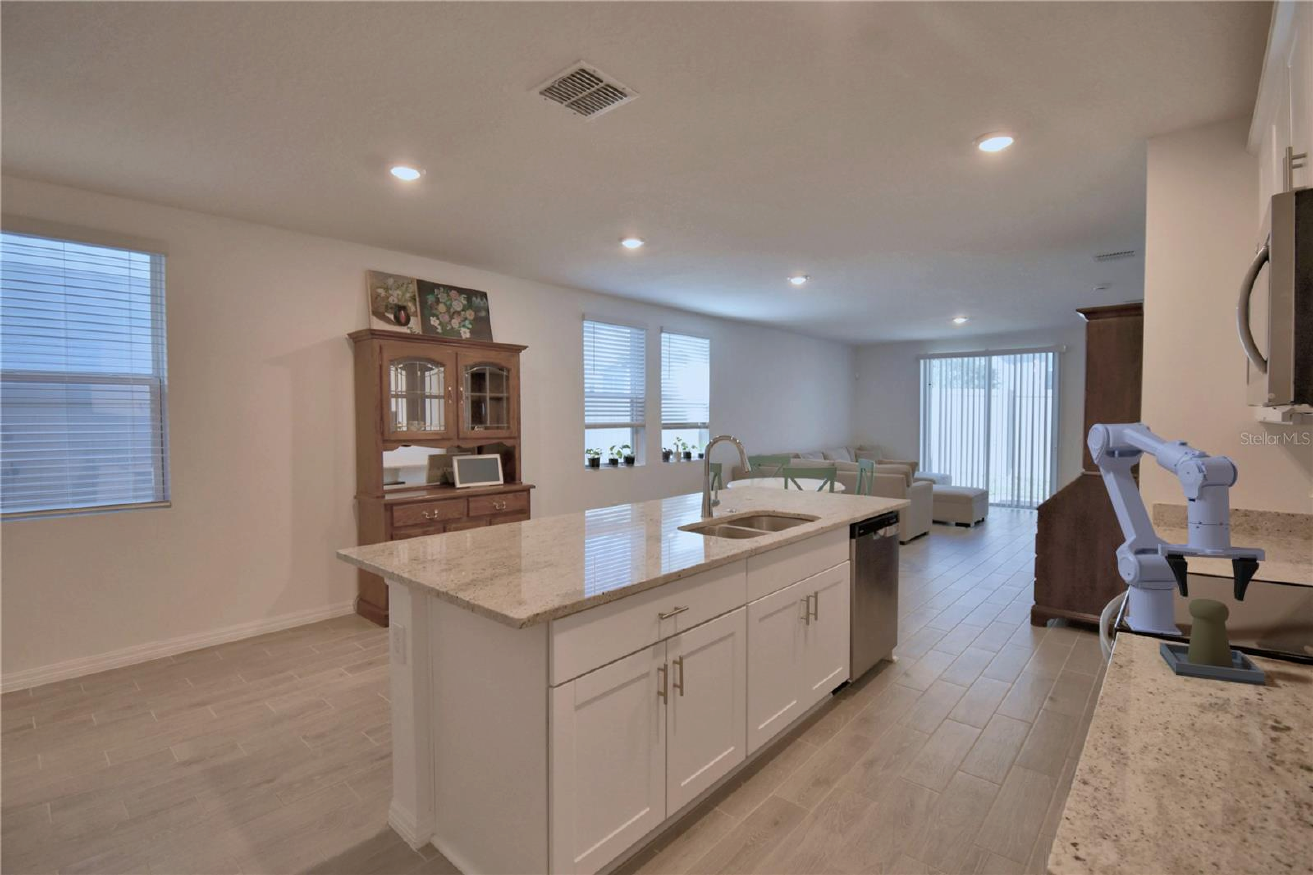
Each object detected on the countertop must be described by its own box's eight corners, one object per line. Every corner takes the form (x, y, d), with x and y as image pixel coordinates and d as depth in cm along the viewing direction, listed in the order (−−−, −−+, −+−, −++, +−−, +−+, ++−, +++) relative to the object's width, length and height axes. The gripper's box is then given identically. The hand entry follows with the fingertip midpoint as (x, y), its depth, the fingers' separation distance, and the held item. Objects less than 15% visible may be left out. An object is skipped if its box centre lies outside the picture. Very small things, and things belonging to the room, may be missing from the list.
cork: (1235, 673, 103) (1233, 607, 103) (1187, 665, 106) (1185, 601, 106) (1232, 662, 107) (1230, 599, 107) (1186, 655, 111) (1185, 594, 111)
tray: (1159, 653, 114) (1159, 642, 114) (1240, 662, 109) (1239, 650, 109) (1175, 674, 104) (1175, 662, 104) (1265, 685, 99) (1265, 673, 99)
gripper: (1163, 524, 113) (1166, 599, 113) (1271, 527, 106) (1273, 607, 106) (1154, 519, 119) (1156, 590, 119) (1255, 522, 112) (1257, 597, 112)
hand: (1211, 597), depth 113 cm, fingers open, 7 cm apart
